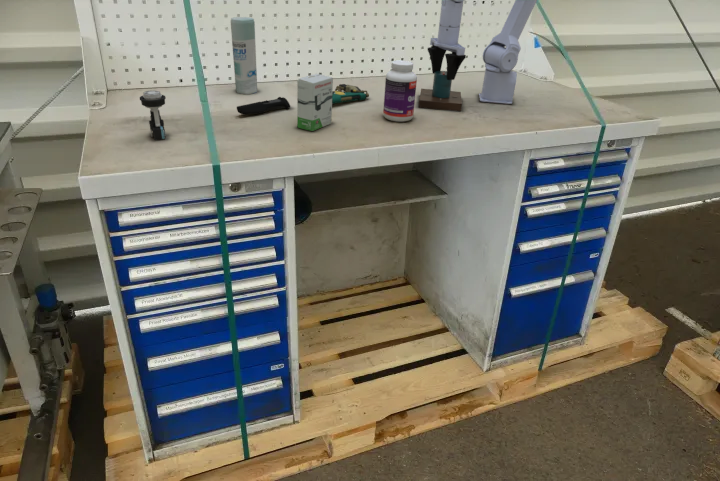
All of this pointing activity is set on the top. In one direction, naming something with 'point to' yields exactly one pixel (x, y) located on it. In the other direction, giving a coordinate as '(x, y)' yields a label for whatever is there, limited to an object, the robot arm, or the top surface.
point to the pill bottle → (400, 92)
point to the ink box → (314, 101)
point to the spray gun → (348, 94)
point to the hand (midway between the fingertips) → (443, 76)
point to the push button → (154, 112)
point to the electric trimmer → (263, 106)
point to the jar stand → (440, 101)
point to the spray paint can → (244, 54)
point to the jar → (441, 85)
